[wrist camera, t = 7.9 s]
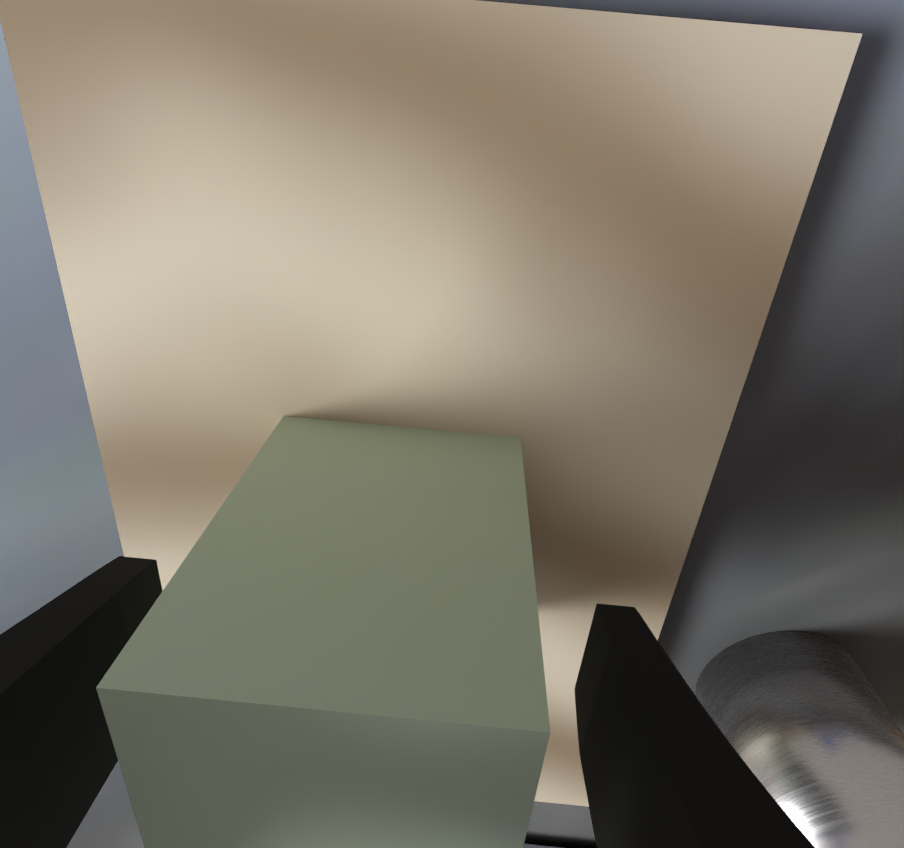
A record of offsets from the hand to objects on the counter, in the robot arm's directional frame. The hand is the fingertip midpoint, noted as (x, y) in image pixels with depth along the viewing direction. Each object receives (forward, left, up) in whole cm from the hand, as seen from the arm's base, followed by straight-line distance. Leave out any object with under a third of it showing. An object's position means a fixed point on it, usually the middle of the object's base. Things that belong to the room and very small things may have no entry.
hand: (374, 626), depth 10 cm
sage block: (0, 0, -3) cm, 3 cm away
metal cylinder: (-5, -10, -4) cm, 12 cm away
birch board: (0, 0, -4) cm, 4 cm away
